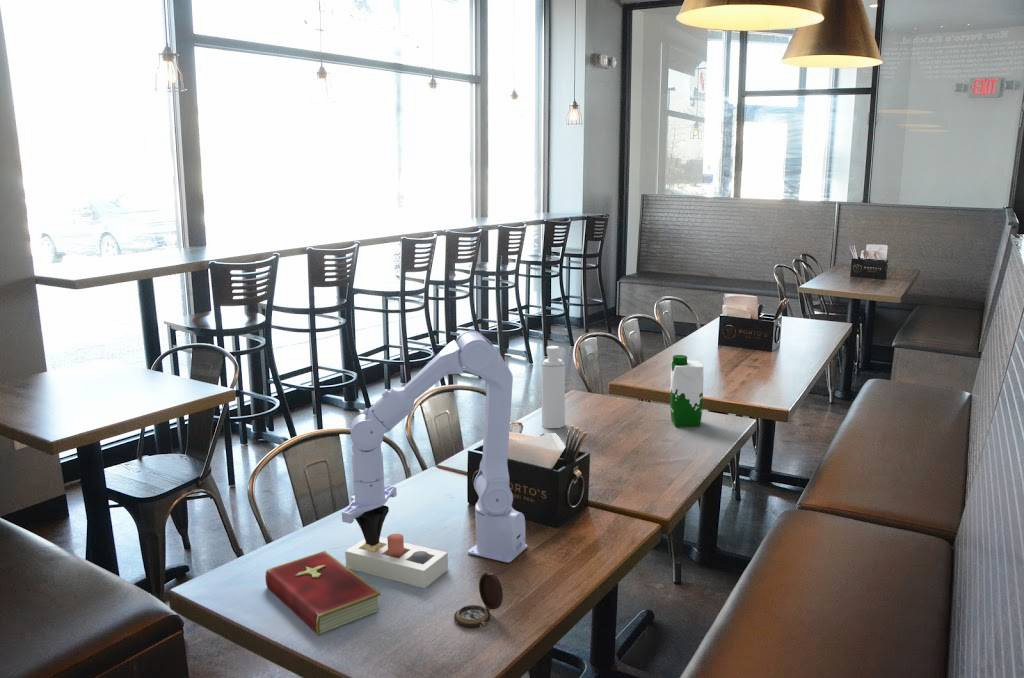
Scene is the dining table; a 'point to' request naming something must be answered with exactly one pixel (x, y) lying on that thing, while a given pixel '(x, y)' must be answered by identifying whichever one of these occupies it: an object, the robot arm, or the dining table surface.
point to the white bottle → (553, 389)
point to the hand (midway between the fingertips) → (372, 543)
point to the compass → (491, 598)
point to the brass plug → (372, 547)
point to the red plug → (395, 545)
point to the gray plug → (420, 557)
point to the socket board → (398, 563)
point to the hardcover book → (322, 591)
